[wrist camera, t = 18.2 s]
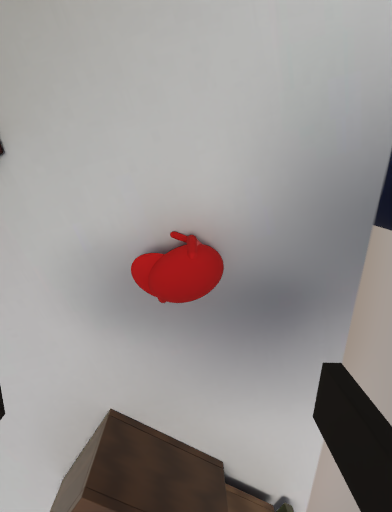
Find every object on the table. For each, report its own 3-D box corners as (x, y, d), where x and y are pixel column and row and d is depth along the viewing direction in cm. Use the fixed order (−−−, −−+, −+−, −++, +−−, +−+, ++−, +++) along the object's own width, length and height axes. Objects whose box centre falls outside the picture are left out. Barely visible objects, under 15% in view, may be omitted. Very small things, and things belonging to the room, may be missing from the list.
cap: (217, 225, 29) (224, 238, 23) (222, 282, 31) (230, 308, 25) (136, 234, 29) (123, 249, 23) (145, 290, 31) (135, 318, 25)
